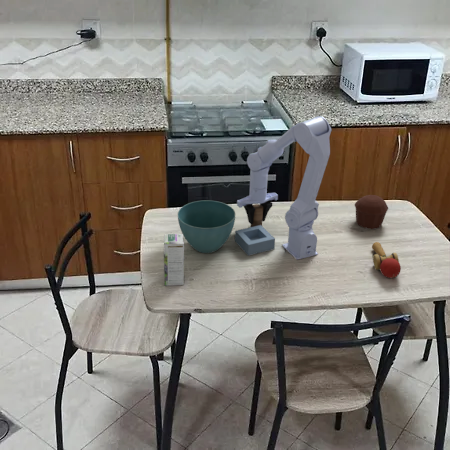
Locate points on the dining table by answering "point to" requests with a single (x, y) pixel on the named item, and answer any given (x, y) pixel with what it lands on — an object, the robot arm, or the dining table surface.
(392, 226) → the dining table surface
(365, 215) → the muffin
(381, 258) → the kendama
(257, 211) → the peg
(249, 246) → the socket
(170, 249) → the syrup box
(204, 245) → the teal bowl
